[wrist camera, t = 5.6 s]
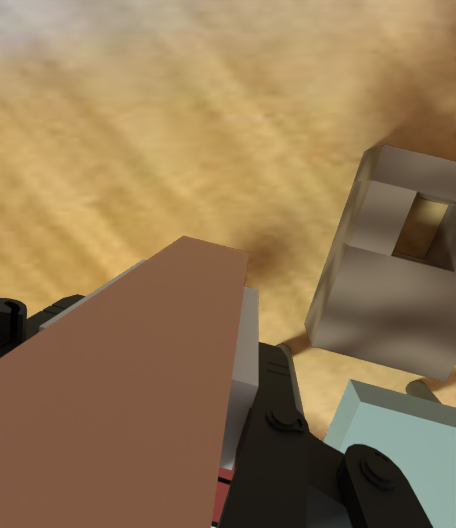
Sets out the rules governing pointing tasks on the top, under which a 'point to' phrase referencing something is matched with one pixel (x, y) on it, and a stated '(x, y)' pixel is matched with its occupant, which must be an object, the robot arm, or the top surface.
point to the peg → (125, 399)
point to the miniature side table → (400, 437)
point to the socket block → (391, 270)
